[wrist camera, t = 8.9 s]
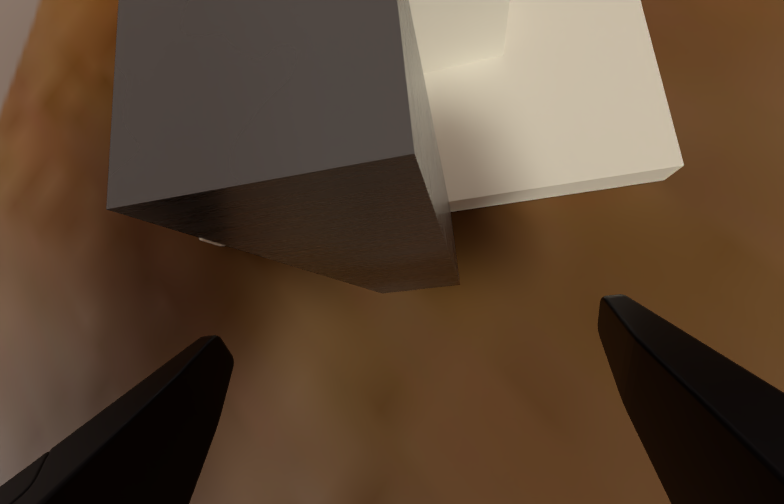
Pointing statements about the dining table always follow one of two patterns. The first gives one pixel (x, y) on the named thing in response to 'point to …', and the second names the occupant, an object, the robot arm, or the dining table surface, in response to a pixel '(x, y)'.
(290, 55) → the grey block
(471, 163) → the white mounting stand
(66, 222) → the dining table surface
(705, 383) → the robot arm
